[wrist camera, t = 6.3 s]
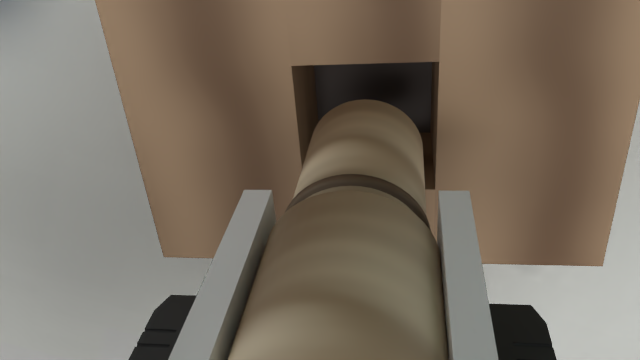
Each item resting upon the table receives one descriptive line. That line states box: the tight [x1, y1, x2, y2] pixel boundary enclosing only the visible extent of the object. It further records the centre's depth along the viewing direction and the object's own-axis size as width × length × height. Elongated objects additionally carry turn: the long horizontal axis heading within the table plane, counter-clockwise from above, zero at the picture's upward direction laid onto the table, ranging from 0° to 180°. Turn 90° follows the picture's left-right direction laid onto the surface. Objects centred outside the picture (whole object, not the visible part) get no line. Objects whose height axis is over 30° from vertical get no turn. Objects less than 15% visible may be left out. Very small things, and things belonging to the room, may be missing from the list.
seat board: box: [95, 0, 640, 266], centre depth 17 cm, size 18×20×14 cm
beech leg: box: [227, 99, 448, 360], centre depth 14 cm, size 4×4×14 cm
